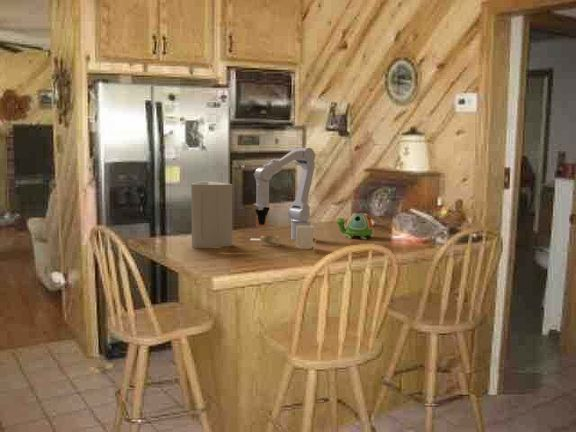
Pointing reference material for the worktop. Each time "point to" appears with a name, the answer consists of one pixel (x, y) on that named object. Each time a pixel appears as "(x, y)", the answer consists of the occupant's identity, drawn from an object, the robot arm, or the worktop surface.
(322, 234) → the worktop surface
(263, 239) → the maple brick
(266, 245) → the build board
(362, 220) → the turtle holder
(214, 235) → the ribbed grey pillar
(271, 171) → the robot arm
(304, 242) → the white cup
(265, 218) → the rust block
